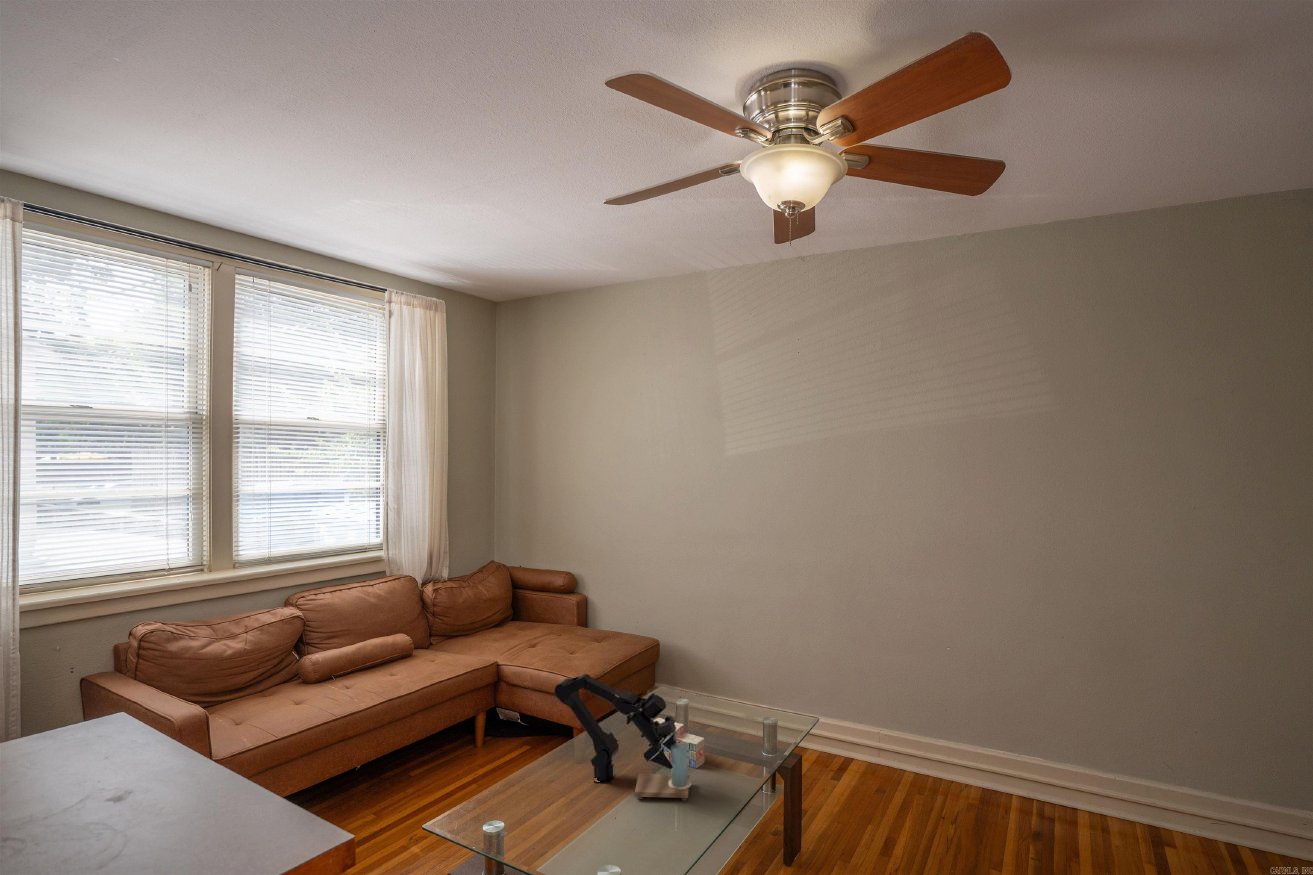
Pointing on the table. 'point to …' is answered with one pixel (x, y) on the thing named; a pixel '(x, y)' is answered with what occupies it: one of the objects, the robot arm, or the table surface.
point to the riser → (659, 787)
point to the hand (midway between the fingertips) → (676, 762)
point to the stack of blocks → (691, 741)
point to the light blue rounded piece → (679, 765)
